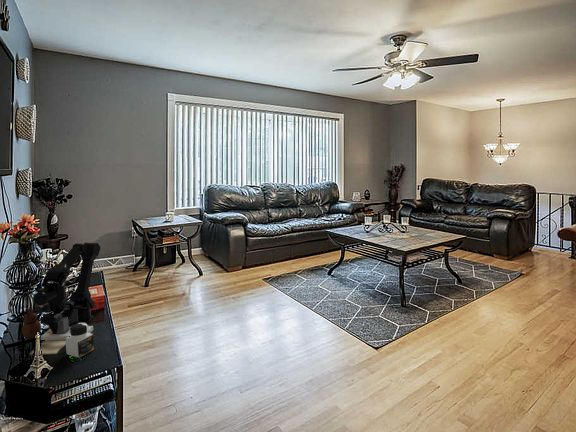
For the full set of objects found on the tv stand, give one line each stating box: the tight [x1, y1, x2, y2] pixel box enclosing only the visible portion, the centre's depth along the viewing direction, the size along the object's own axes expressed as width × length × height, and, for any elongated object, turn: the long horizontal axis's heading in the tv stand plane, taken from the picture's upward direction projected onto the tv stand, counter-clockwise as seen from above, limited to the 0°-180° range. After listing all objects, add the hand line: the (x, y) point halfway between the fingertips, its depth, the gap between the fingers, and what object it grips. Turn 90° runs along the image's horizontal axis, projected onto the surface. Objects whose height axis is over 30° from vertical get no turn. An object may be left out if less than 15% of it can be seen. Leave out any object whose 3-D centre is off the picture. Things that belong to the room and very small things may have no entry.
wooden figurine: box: [21, 306, 42, 340], centre depth 151 cm, size 7×6×15 cm
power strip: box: [40, 325, 94, 341], centre depth 155 cm, size 9×18×3 cm, turn 97°
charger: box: [52, 314, 70, 334], centre depth 154 cm, size 4×5×10 cm
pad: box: [29, 340, 66, 356], centre depth 144 cm, size 10×10×1 cm
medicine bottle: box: [65, 322, 95, 359], centre depth 141 cm, size 7×7×12 cm
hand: (60, 329), depth 154 cm, fingers open, 9 cm apart
